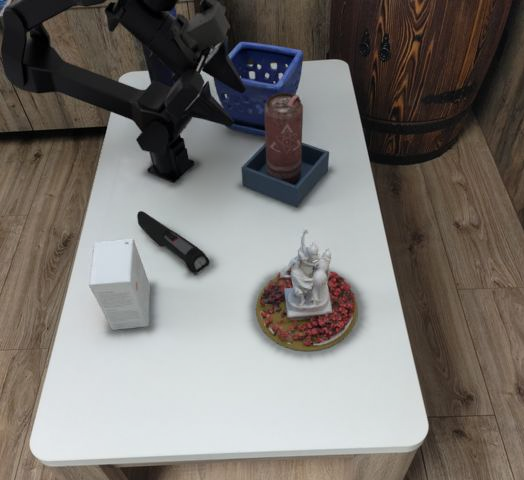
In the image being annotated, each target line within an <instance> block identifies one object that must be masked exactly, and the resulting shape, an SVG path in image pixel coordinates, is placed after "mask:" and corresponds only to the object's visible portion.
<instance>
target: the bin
mask: <svg viewBox="0 0 524 480" xmlns="http://www.w3.org/2000/svg"><path fill="white" fill-rule="evenodd" d="M329 160H330V150H329V151H328V150H325V149H323V148H319V147H316V146H314V145H311V144H308V143H305V142H302V155H301V176H300V178H299V180H298V181H297V182H296V183H294V184H290V183H287V182H285V181H282V180H279V179H277V178H274V177H271V176H269V175H267V164H266V142H265V143H263V145H261V147H260V148H259V149H258V150H257V151H255V153H253V155H252V156H251V157H250V158H249V159H248V160H247V161H246V162H245V163H244V164H243V165H242V166H241V167H240V169H241V177H242V178H241V181H242V187H244V188H246V189H249V190H252V191H254V192H257V193H259V194H262V195H264V196H266V197H269V198H271V199H274V200H276V201H279V202H282V203H284V204H287V205H289V206H291V207H294V208H298V207H299V206H300V204H301V203H302V202H303V201H304V200H305V199H306V198H307V196H308V195H309V194H310V192H311V191H312V190H313V189H314V188H315V187H316V185H317V184H318V183H319V182H320V181H321V179H322V178H323V177H324V176H325V175H326V173H328V170H329V162H330V161H329Z"/></svg>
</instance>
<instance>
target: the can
mask: <svg viewBox="0 0 524 480" xmlns="http://www.w3.org/2000/svg"><path fill="white" fill-rule="evenodd" d="M264 113H265V137H264V139H265V143H266V164H267V175H269V176H271V177H274V178H277V179H279V180H282V181H285V182H287V183H290V184H294V183H296V182H297V181H298V180H299V178H300V176H301V155H302V143H303V120H304V115H303V114H304V105H303V104H302V100H301V97H300V95H297V94H296V95H294V94H290V93H278V94H275V95H272V96H271V97H270V98H268V100H267V103H266V105H265V109H264Z"/></svg>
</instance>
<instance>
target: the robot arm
mask: <svg viewBox="0 0 524 480" xmlns="http://www.w3.org/2000/svg"><path fill="white" fill-rule="evenodd" d="M107 1H108V0H13V1H12V2H11V3H9V4H8V5H6V7H4V9H3V12H2V22H3V33H2V40H1V46H0V55H1V61H2V68H3V73H4V76H5V78H6V79H7V80H8V81H9V82H10V83H11V84H12V85H13V86H15V88H16V89H19V90H21V91H24V92H29V93H32V94H33V93H34V94H47V93H49V94H50V93H60V94H63V95H66V96H68V97H71V98H74V99H76V100H79V101H81V102H84V103H87V104H89V105H92V106H95V107H97V108H98V109H99V108H100V109H102V110H105V111H107V112H110V113H113V114H116V115H118V116H121V117H123V118H126V119H129V120H131V121H132V122H133V123H134V125H136V127H137V128H138V129H139V131H140V132H141V133H140V134H139V135H138V136H137V138H136V139H135V140H136V142H137V144H138V146H139V148H140V149H141V151H143V152H148V153H149V157H150V160H151V165H150V166H149V167H148V168H147V173H149V174H151V175H152V176H155V177H157V178H160V179H163V180H165V181H168V182H169V183H172V184H175V183H176V182H178V181H179V180H180V179H181V178H182V177H183V176H184V175H185V174H186V173H187V172H188V171H189V170H191V168H193V167H194V166H195V160H193V159H190V158H189V152H188V148H187V147H186V142H185V138H184V137H182V136H181V134H182V133H183V131H184V130H185V129H186V128H187V126H188V125H189V123H190V122H191V121H192V119H199V120H205V121H207V122H212V123H214V124H219V125H222V126H224V127H226V126H228V127H231V126H232V125H233V124H234V120H233V119H232V118H231V116H230V115H229V114H228V113H227V112H226V111H225V109H224V108H223V107H222V105H221V103H220V102H219V101H218V100H217V99H216V98H215V97H214V96H213V95H212V93H211V86H210V85H211V84H210V82H209V80H207V81H206V82H205V79H204V77H203V75H202V74H201V72H203V73H205V74H207V75H209V76H210V77H211V78H213V77H214V78H215V79H217V80H219V81H220V82H222V83H224V84H225V85H227V86H229V87H230V88H232V89H234V90H235V91H237V92H239V93H244V92H245V90H246V87H245V85H244V83H243V82H242V80H241V76H239V74H238V73H237V71H236V69H235V67H234V65H233V63H232V61H231V59H230V57H229V37H228V36H227V33H228V31H229V30H231V29H230V28H231V25H230V23H229V21H228V19H227V17H226V16H225V14H226V12H227V8H226V6H225V5H222V4H221V2H220V1H218V0H200V2H199V5H198V6H199V12H197V13H196V14H195V15H194V17H192V18H190V19H188V18H187V17H186V16H185V15H184V14H181V13H180V12H179V13H178V14H177V16H176V17H175V18H174V17H173V16H172V15H171V14H170V13H169V12H168V11H170V10H172V9H173V8H174V7H175V8H176V6H177V4H178V3H179V1H180V0H117V1H109V3H108V4H107V6H106V7H105V8H104V10H103V11H104V14H105V17H106V21H107V27H108V31H109V32H111V33H113V32H114V31H115V30H116V28H117V27H118V25H119V24H120V25H121V26H122V27H123V28H124V29H125V30H126V31H128V32H129V34H131V35H132V36H133V37H134V38H135V39H136V40H137V41H138V42H140V43H142V44H143V45H144V46H145V47H146V46H147V47H146V48H147V49H148V50H149V51H150V52H152V53H151V55H150V57H149V59H150V60H151V61H152V62H154V63H155V62H156V60H157V59H159V60H160V61H161V62H162V63H164V64H165V65H166V66H167V67H168V68H169V69H170V70H171V71H172V72H173V73H174V75H173V77H172V80H173V81H174V82H176V83H175V84H174V85H173V87H169V86H166V85H164V84H162V83H160V82H158V81H153V82H152V83H151V82H150V84H149V85H148V86H147V87H146V88H145V89H140V88H137V87H134V86H131V85H129V84H126V83H124V82H121V81H119V80H115V79H112V78H111V77H107V76H105V75H102V74H101V73H100V74H99V73H97V72H94V71H91V70H88V69H86V68H83V67H81V66H79V65H76V64H73V63H71V62H68V61H65V60H64V59H63V58H62V56H61V55H60V54H59V52H58V51H57V50H56V49H55V47H54V46H52V45H51V36H50V34H49V32H48V30H47V29H46V27H45V26H44V23H45V22H47V21H49V20H50V19H53V18H55V17H56V16H57V15H60V14H62V13H64V12H66V11H67V10H69V9H71V8H74V7H79V6H81V7H84V8H86V7H87V8H88V7H91V6H97V5H101V4H105V3H106V2H107ZM28 33H29V37H28ZM142 44H141V45H142ZM214 78H213V79H214Z"/></svg>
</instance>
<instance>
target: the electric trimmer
mask: <svg viewBox="0 0 524 480" xmlns="http://www.w3.org/2000/svg"><path fill="white" fill-rule="evenodd" d="M136 218H137V219H136V220H137V224H138V226H139V227H140V229H142V230H143V232H144V233H145V234H146V235H147V236H148V237H149V238H150V239H151V240H152V241H153V242H154V243H155V244H156V245H157V246H158V247H159V248H160V247H161V248H167V249H168V250H169V251H170V252H171V253H173V254H174V255H175V256H176V257H178V258H179V259H180V260H181V261H182V262H184V265H185V266H186V268H187V269H188V270H189V272H190V273H192V274H196V275H199V274H200V273H201V272H203V271H204V270H205V269H207V268H208V267H209V265H210V263H211V262H210V259H209V257H208V256H207V255H206V253H205V252H204V251H203V250H202V249H201V248H200V247H198V246H197V245H195V244H193V243H192V242H190V241H189V240H188V239H186V238H185V237H183V236H182V235H180V234H179V233H177V232H175V231H173V230H172V229H171V228H169V227H167V226H166V225H164V224H163V223H161V222H160V221H158V220H157V219H156V218H154V217H153V216H151V215H149V214H148V213H147V212H145V211H143V210H139V211H138V212H137V214H136Z"/></svg>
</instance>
